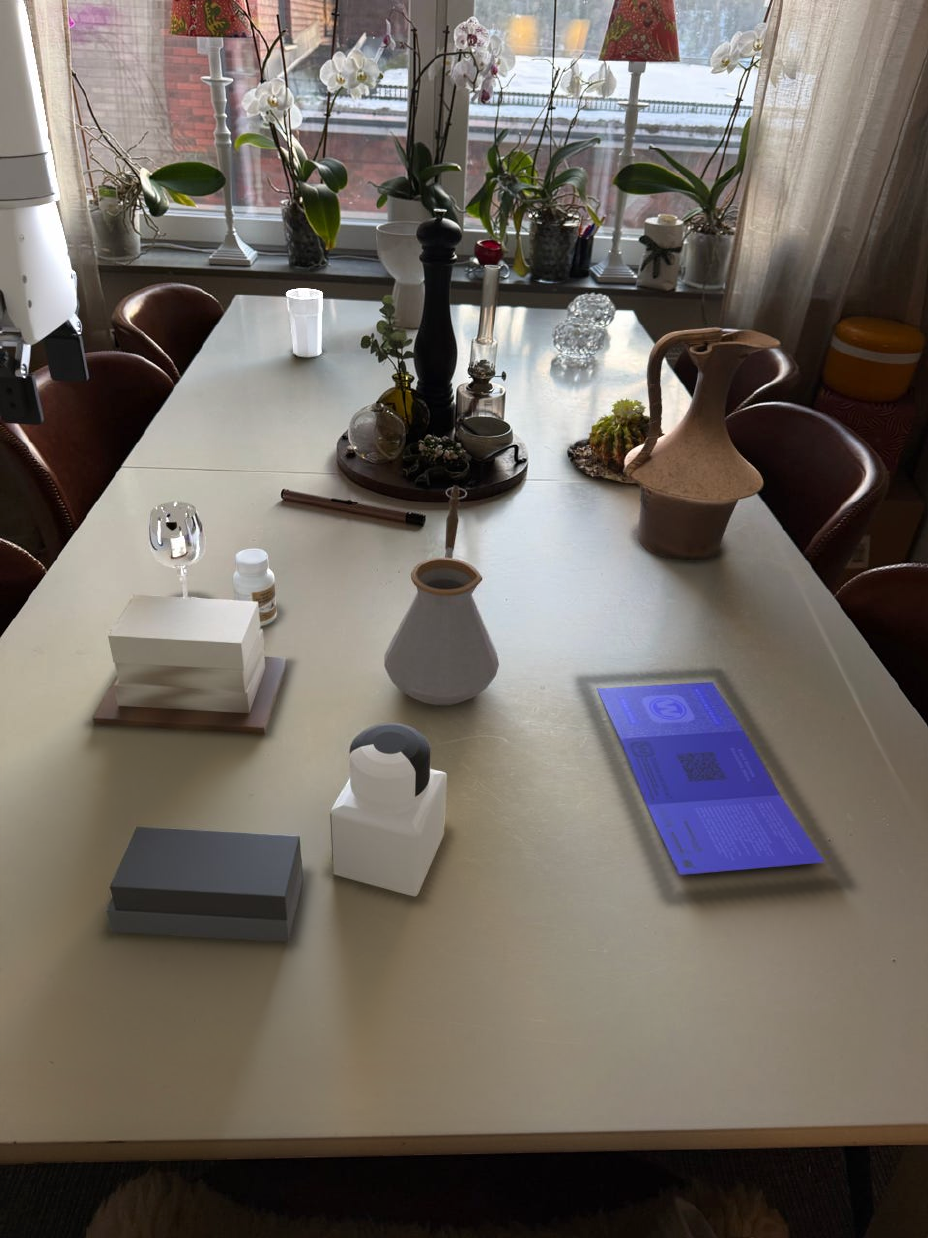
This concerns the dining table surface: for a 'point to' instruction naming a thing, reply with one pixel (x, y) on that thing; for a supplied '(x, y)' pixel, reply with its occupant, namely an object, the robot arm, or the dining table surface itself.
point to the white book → (185, 632)
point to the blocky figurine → (389, 810)
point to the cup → (305, 321)
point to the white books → (195, 695)
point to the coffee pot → (443, 630)
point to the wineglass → (177, 537)
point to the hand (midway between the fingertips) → (48, 400)
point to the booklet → (704, 780)
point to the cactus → (612, 441)
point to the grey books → (207, 884)
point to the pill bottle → (255, 583)
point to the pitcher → (694, 450)
